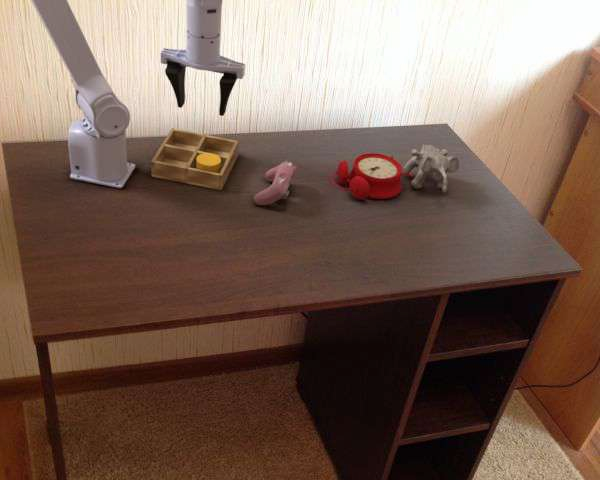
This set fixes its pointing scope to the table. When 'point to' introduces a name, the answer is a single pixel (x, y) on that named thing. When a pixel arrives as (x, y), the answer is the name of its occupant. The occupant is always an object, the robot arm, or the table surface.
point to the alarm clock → (371, 176)
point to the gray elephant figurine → (431, 166)
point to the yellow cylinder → (208, 162)
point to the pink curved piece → (276, 184)
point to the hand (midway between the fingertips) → (201, 109)
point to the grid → (193, 158)
